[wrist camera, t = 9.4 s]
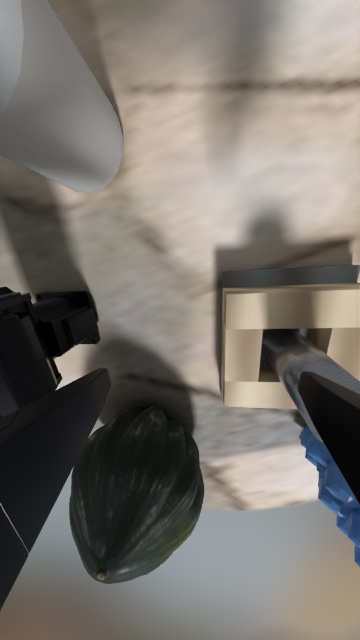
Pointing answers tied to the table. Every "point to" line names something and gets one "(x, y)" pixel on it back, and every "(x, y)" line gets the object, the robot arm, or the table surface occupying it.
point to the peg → (301, 365)
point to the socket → (285, 326)
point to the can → (53, 102)
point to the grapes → (334, 489)
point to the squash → (134, 494)
